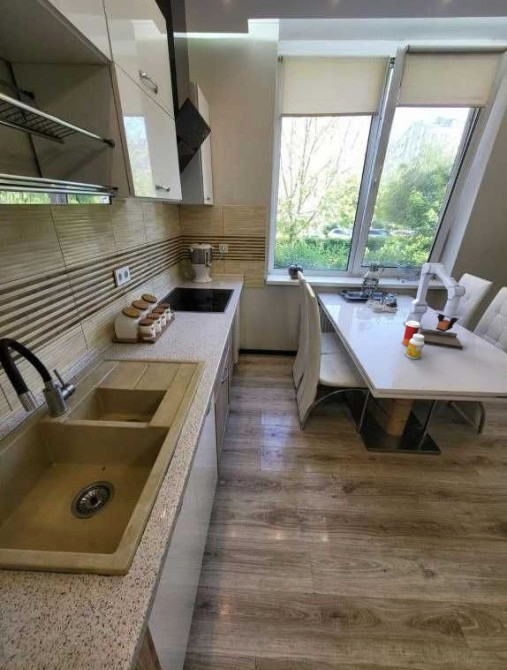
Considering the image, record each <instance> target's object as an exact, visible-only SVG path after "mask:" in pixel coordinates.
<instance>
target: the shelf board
mask: <svg viewBox="0 0 507 670" xmlns="http://www.w3.org/2000/svg"><path fill="white" fill-rule="evenodd" d="M419 330H420V331H419V334H421V335H423V336H424V340H423V341H424V345H431V346H436V347H438V346H439V347H444V348H449V349H455V350H463V347H464V346H463V344H462V343H461V341H460V340H459V338H458V337H457V336H458V333H457V332H451V331H445V332H443V331H440V330H437V329H430V328H424V327H423V328H422V327H421V328H420V329H419Z"/></svg>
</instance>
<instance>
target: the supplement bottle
mask: <svg viewBox="0 0 507 670" xmlns="http://www.w3.org/2000/svg"><path fill="white" fill-rule="evenodd" d="M423 340H424V336H423V335H421V334H420V333H417V334H414V335H413V338H412V339H410V342H409V345H408V346H407V349H406V352H405V356H406V357H408V358H410V359H412V360H419V359H420V358H421V356H422V352H423V349H424V347H425V344H424V341H423Z"/></svg>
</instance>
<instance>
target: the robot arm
mask: <svg viewBox="0 0 507 670" xmlns="http://www.w3.org/2000/svg"><path fill="white" fill-rule="evenodd" d="M421 266H422V267H421V272H420V278H419V283H418V288H417V292H416V297H415V299H414V300H413V301H411V302H410V306H409V307H408V311H409V312H407V313H406V315H405V319H404V325H405V327H406V323H407V322H408V321H416V322H419V323H420V324H421V323H422V322H421V321H422V318H423V315H425V314H426V313H427V312H428V305H429V304H428V302H427V301H426V297H427V294H428V289H429V284H430V281H431V280H430V279H431V277H433V276H434V275H437V276H438V277H439V278H440V279H441V280H442V285H443V286H444V287H445V289H446V290H447V302H446V304H445V307H444V310H438V309H436V310H435V311H434V314H435V315H437V320H438V322H441V321H443V320H445V318H446V317H447V318H450V319H449V321H450V324H449V327H448V330H447V331H450V330H451V329H452V328H451V327H452V326H453V327H454V325H455V324H456V322H458V321H459V322H462V321H463V320H464V319H465V317H464V316H461V315H458V314H457V312H458V311H457V310H458V308H459V305H460V301H461V299H462V297H464V296H465V295H466V292H467V290H466V287H465V286H463V285H460V284H459V283H458V282H457V281H456V279H455V278H454V277H452V276H449V274H448V273H447V272H446V270H445V265H444V264H443V263H442V262H426V263H424V264H423V265H421ZM421 328H422V327H420V328H419V329H421Z"/></svg>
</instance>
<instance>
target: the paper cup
mask: <svg viewBox="0 0 507 670" xmlns="http://www.w3.org/2000/svg"><path fill="white" fill-rule="evenodd" d="M420 327H421V322H420V323H419V322H416V321H408V322H407V323H406V326H405V329H404V335H403V339H402V344H403V345H404V346H406V347H408V345H409V342H410V339H412V338H413V335H414V334H419V330H420V329H421V328H422V327H421V328H420Z"/></svg>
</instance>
